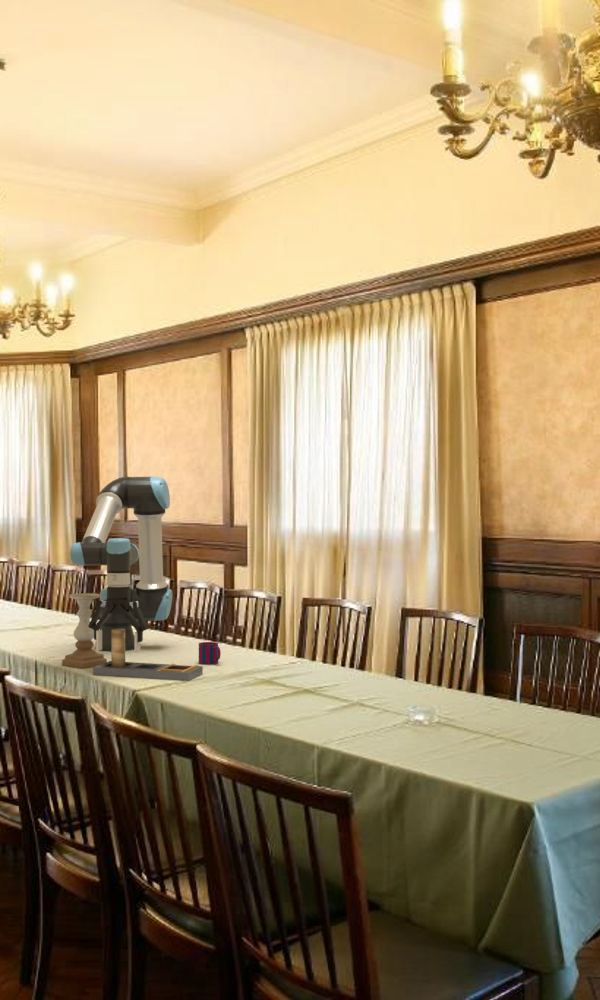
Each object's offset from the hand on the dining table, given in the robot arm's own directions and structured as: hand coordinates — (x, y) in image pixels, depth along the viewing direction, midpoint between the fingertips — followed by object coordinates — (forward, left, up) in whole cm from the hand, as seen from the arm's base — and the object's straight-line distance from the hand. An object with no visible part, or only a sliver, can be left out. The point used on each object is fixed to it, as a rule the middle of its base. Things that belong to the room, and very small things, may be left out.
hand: (118, 651), depth 328 cm
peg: (0, 0, -7) cm, 7 cm away
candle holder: (-10, -18, -7) cm, 22 cm away
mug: (-25, +22, -7) cm, 35 cm away
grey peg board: (0, +10, -7) cm, 13 cm away
